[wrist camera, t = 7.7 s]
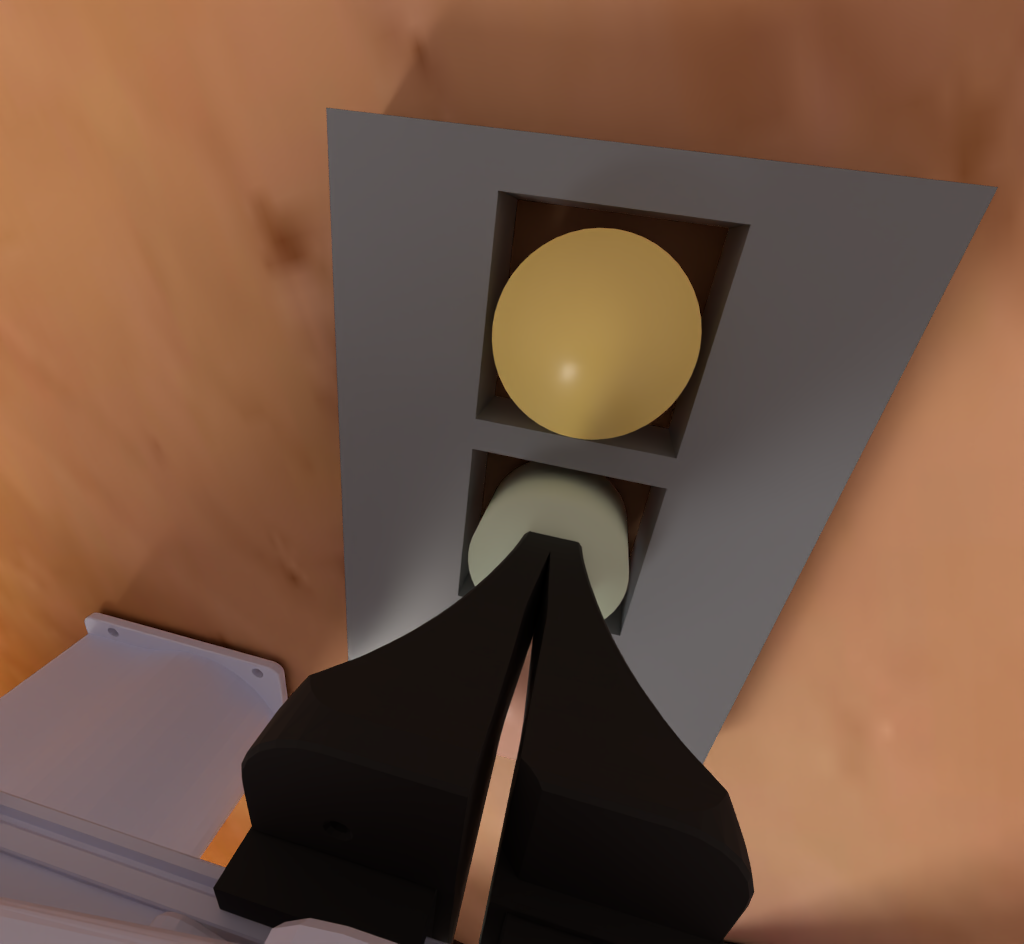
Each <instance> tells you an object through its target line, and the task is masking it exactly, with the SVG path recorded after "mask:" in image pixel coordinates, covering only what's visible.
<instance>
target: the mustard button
mask: <svg viewBox="0 0 1024 944" xmlns="http://www.w3.org/2000/svg"><path fill="white" fill-rule="evenodd" d="M701 334H702V330H701V315H700V310H699V304H698V301H697V298H696V295H695V292H694V289H693V287H692V285H691V283H690V281H689V279H688V277H687V276H686V274H685V273H684V271H683V270H682V268H681V267H680V266H679V264H678V263H677V262H676V261H675V260H674V259H673V258H672V257H671V256H670V255H669V254H668V253H667V252H666V251H664V250H663V249H662V248H661V247H659V246H658V245H657V244H655V243H653V242H651V241H650V240H648V239H646V238H644V237H642V236H639V235H636V234H634V233H631V232H628V231H623V230H618V229H610V228H592V229H583V230H579V231H574V232H570V233H567V234H565V235H562V236H559V237H557V238H555V239H553V240H551V241H549V242H548V243H546V244H544V245H542V246H541V247H540V248H538V249H537V250H536V251H534V252H533V253H531V254H530V255H529V256H528V257H527V258H526V259H525V260H524V261H523V262H522V263H521V264H520V265H519V267H518V268H517V269H516V270H515V272H514V273H513V274H512V276H511V277H510V279H509V280H508V282H507V284H506V285H505V287H504V289H503V292H502V294H501V296H500V298H499V301H498V304H497V307H496V311H495V315H494V320H493V326H492V348H493V356H494V361H495V365H496V368H497V371H498V374H499V377H500V379H501V381H502V384H503V386H504V388H505V390H506V391H507V393H508V394H509V396H510V397H511V399H512V400H513V401H514V402H515V404H516V405H517V406H518V407H519V408H520V409H521V410H522V411H523V412H524V413H525V414H526V415H527V416H528V417H529V418H531V419H532V420H533V421H535V422H536V423H538V424H539V425H541V426H543V427H545V428H546V429H548V430H550V431H553V432H555V433H558V434H560V435H564V436H568V437H572V438H578V439H587V440H599V439H608V438H613V437H618V436H622V435H625V434H628V433H631V432H633V431H636V430H638V429H640V428H642V427H644V426H646V425H647V424H649V423H650V422H652V421H653V420H655V419H656V418H658V417H659V416H660V415H661V414H662V413H664V412H665V411H666V410H667V409H668V408H669V407H670V406H671V405H672V404H673V403H674V402H675V400H676V399H677V398H678V397H679V395H680V394H681V392H682V391H683V390H684V388H685V387H686V385H687V383H688V381H689V379H690V377H691V375H692V373H693V370H694V368H695V365H696V362H697V359H698V355H699V350H700V344H701Z"/></svg>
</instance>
